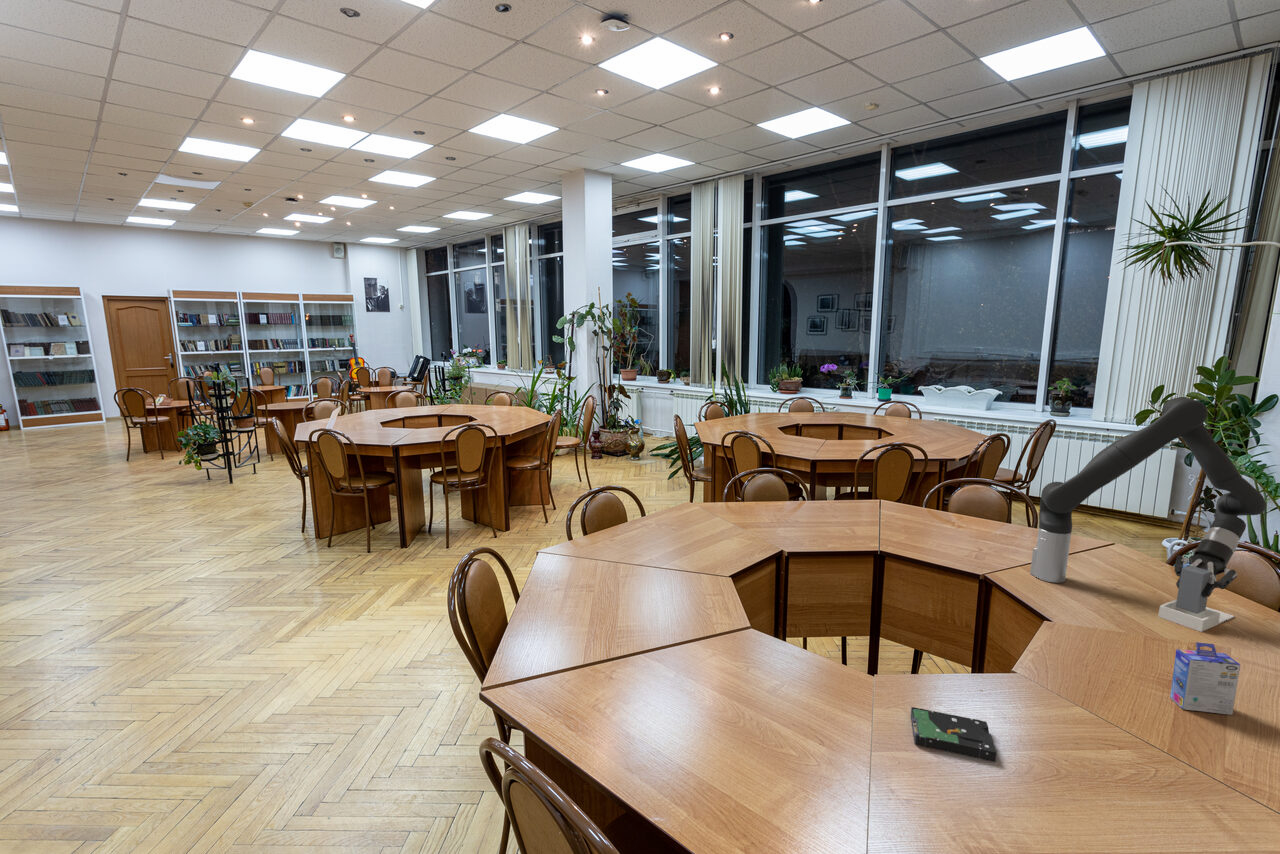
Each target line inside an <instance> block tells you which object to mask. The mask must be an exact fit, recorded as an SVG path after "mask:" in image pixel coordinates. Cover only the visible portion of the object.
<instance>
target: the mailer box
mask: <svg viewBox="0 0 1280 854" xmlns="http://www.w3.org/2000/svg"><path fill="white" fill-rule="evenodd" d="M1176 602H1177V598H1176V599H1174V600H1170V601H1169V602H1166V603H1163V604H1161V605H1160V606H1159V608H1158V609H1159V610H1158V615H1157V616H1158V618H1161V619H1164V620H1166V621H1170V622H1172V623H1176V624H1178V625H1181V626H1184V627H1186V628H1190V629H1193V630H1194V631H1195V630H1196V631H1198V632H1201V633H1202V632H1205V631H1207V630H1209V629H1212V628H1213V627H1216V626H1218V625H1220V624H1223V623H1225V622H1227V621H1230V620H1231V619H1234V618H1235V615H1232V614H1230V613H1226V612H1223V611H1220V610H1217V609H1214V608H1211V607H1208V606H1206V610H1205V611H1203V612H1200V613H1198V614H1196V613H1193V612H1190V611H1187V610H1184V609H1181V608H1178V607H1176ZM1233 617H1234V618H1233ZM1226 620H1227V621H1226ZM1224 621H1225V622H1224ZM1222 622H1223V623H1222Z"/></svg>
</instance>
